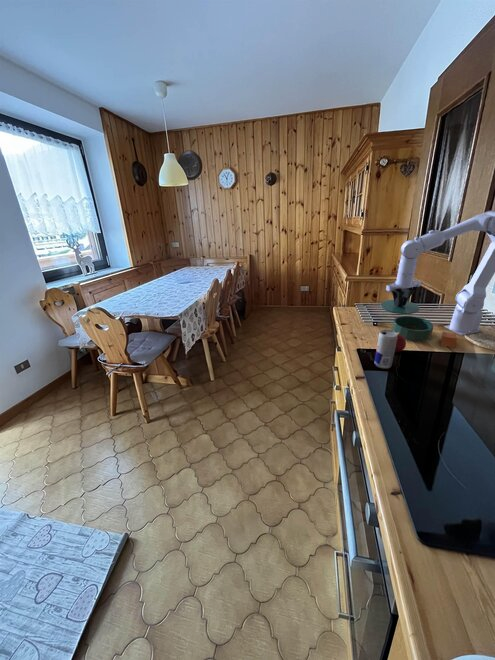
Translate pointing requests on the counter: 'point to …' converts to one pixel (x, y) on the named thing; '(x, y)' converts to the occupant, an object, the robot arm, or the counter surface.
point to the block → (448, 339)
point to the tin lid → (406, 309)
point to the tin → (413, 322)
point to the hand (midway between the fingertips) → (399, 305)
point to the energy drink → (385, 349)
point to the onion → (400, 343)
